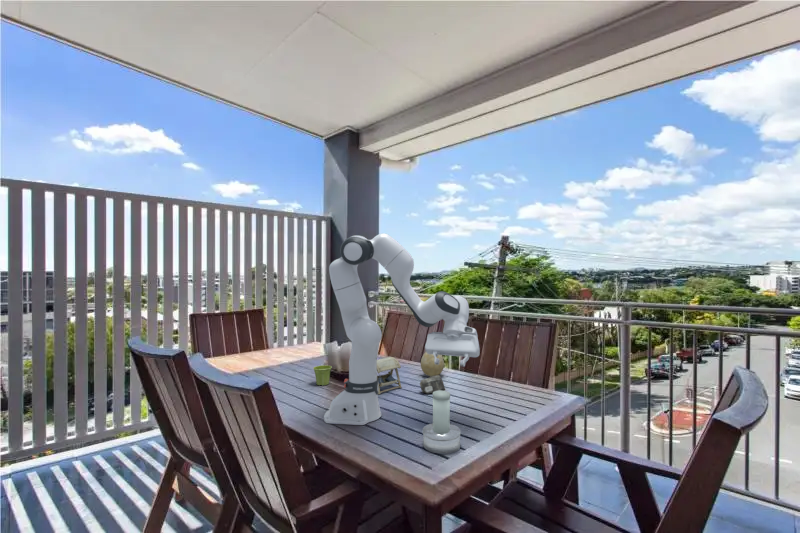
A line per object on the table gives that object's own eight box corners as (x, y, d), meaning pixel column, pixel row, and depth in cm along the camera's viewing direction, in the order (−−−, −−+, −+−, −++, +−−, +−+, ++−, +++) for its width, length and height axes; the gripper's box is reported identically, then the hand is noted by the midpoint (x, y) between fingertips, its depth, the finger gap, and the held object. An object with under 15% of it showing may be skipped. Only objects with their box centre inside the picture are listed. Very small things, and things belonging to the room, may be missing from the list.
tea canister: (433, 433, 120) (433, 396, 120) (431, 425, 126) (431, 390, 125) (451, 433, 120) (451, 396, 119) (448, 425, 125) (449, 390, 125)
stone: (434, 405, 171) (424, 386, 170) (424, 403, 178) (414, 385, 177) (453, 386, 180) (443, 367, 179) (443, 385, 186) (434, 367, 185)
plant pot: (311, 383, 195) (311, 366, 195) (329, 380, 199) (329, 364, 199) (315, 387, 186) (315, 370, 187) (334, 385, 190) (333, 368, 191)
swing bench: (379, 395, 174) (379, 363, 174) (366, 390, 181) (366, 360, 181) (402, 388, 184) (401, 358, 184) (389, 384, 191) (388, 355, 191)
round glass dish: (424, 455, 116) (424, 439, 116) (421, 437, 128) (421, 423, 129) (464, 454, 116) (464, 438, 117) (457, 436, 129) (456, 422, 129)
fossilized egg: (432, 372, 213) (432, 345, 214) (449, 376, 204) (448, 349, 204) (416, 376, 205) (415, 348, 206) (432, 381, 196) (431, 352, 196)
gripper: (426, 327, 146) (419, 357, 136) (480, 329, 139) (476, 361, 129) (430, 336, 150) (423, 367, 140) (481, 339, 143) (478, 371, 133)
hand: (449, 364), depth 135 cm, fingers open, 8 cm apart
